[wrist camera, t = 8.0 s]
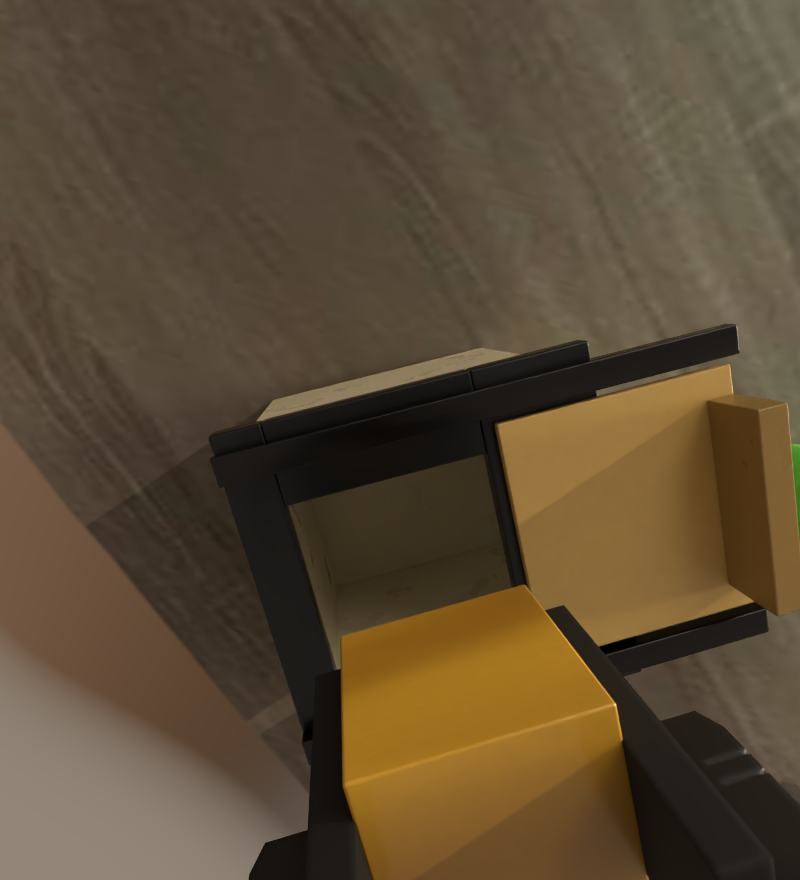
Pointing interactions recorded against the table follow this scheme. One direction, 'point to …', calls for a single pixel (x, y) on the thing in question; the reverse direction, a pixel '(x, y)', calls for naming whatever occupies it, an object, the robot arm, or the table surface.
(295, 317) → the table surface
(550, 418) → the shutter
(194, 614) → the table surface
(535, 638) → the block
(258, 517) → the sliding lid box
